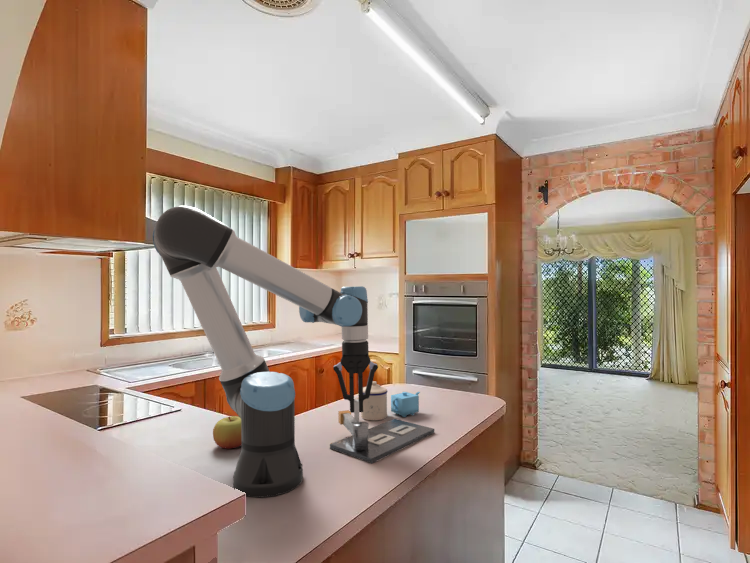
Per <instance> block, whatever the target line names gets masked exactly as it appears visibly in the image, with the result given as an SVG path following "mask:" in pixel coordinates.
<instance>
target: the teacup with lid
mask: <svg viewBox="0 0 750 563" xmlns="http://www.w3.org/2000/svg"><path fill="white" fill-rule="evenodd" d="M377 383H378V382H377V381H374V380H373V382H372V387H371V391H370V396H369V398H368V399H365V400H363V412H360V416H361V418H362V419H363V420H367V421H380V420H385V419H386V418H387V416H388V395H387V393H388V389H387V388H386V387H385V386H381V385H380V384H377ZM365 391H366V386H363V394H365ZM355 399H359V397H358V396H357V397H355Z"/></svg>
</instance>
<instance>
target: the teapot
mask: <svg viewBox="0 0 750 563" xmlns="http://www.w3.org/2000/svg"><path fill="white" fill-rule="evenodd" d="M420 393H421V391H417V392H415V394H414V393H413V392H412V393H411V392H408V391H402V392H401V393H396V394H391V395H390V406H391V407H390V412H392V413H394V414H395V415H396V414H397V416H398V414H399V416H401V417H402V418H407V415H410V416H415V413H419V412H420V408H419V406H420V404H419V403H420V396H419V394H420Z"/></svg>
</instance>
